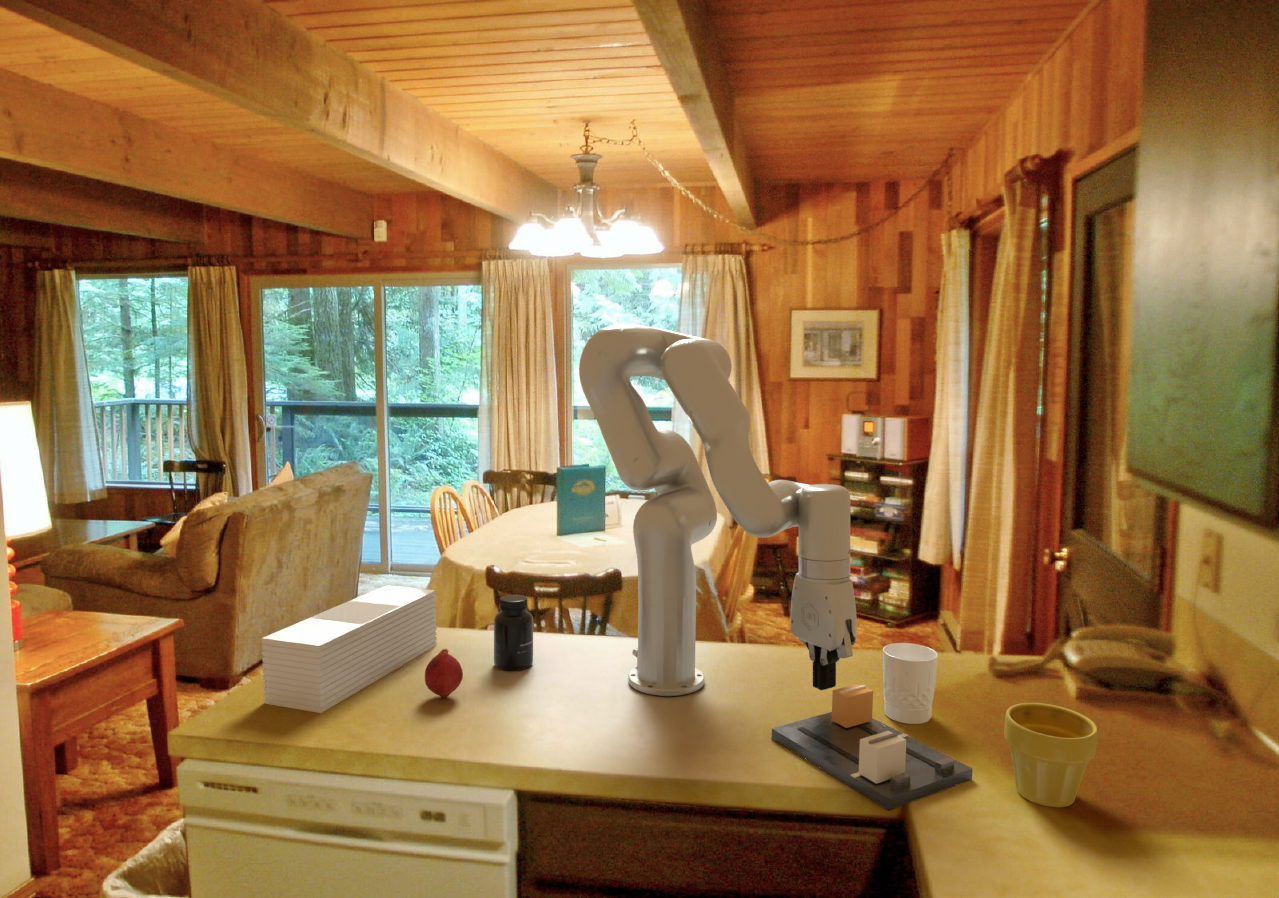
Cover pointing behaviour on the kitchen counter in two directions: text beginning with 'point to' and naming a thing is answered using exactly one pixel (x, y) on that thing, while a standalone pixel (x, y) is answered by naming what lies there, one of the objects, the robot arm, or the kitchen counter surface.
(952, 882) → the kitchen counter surface
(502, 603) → the supplement bottle
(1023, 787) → the plant pot
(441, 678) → the onion
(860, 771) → the fader
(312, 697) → the stack of papers
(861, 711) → the block
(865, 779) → the console board
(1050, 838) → the kitchen counter surface
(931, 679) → the white cup
